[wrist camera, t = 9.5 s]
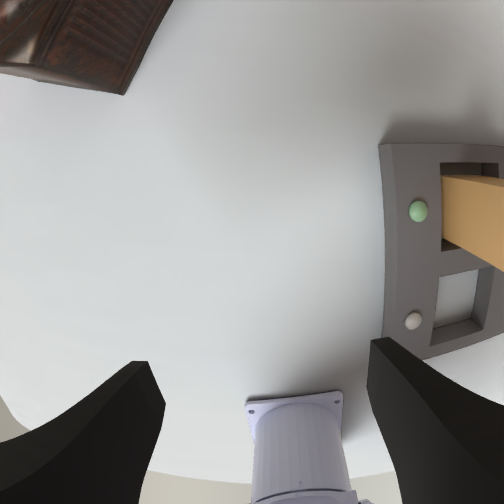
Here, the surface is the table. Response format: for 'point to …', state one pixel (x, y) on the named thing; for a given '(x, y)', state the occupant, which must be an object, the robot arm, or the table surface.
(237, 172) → the table surface
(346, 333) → the table surface
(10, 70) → the manual coffee grinder
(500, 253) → the plug
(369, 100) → the table surface
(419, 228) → the socket block
